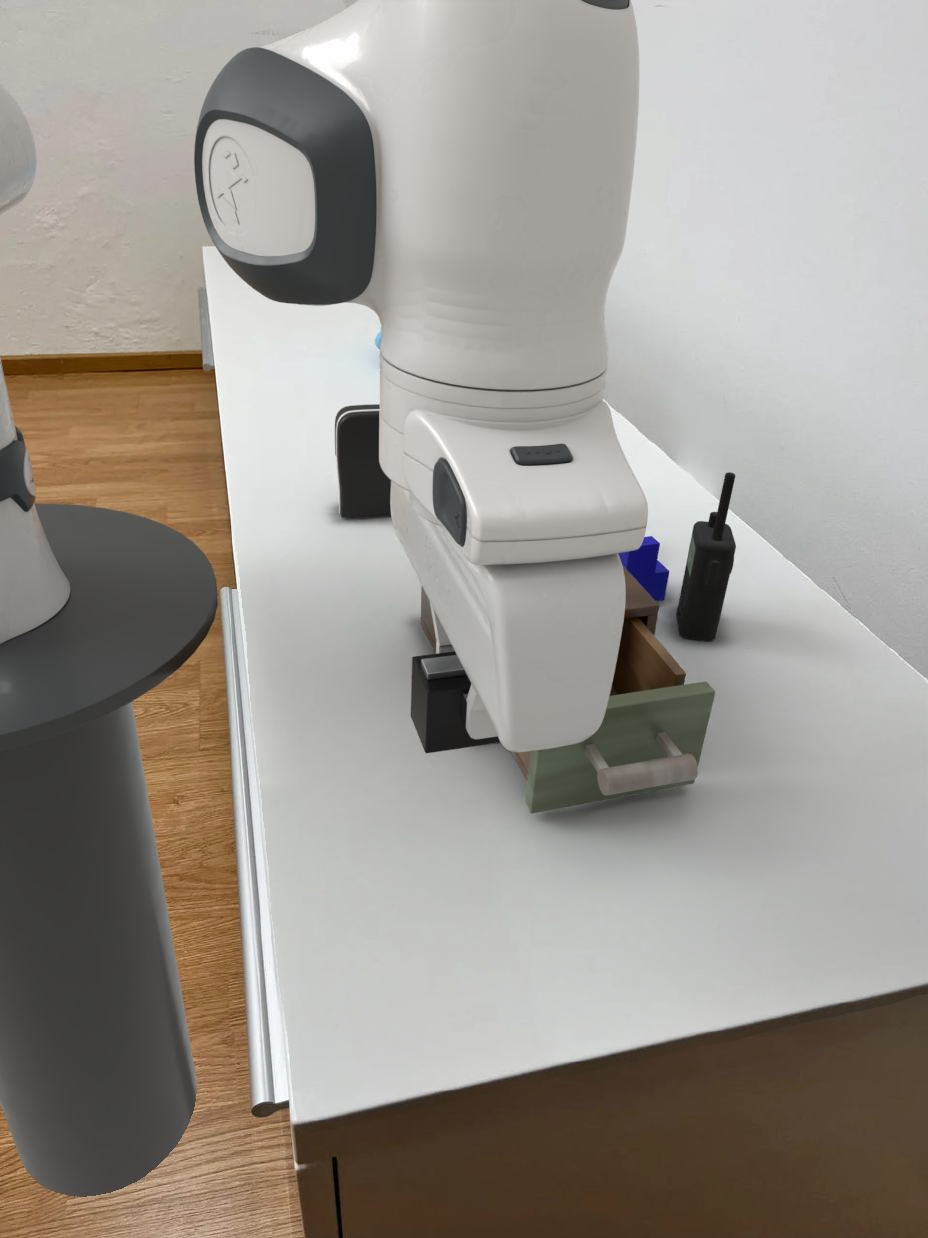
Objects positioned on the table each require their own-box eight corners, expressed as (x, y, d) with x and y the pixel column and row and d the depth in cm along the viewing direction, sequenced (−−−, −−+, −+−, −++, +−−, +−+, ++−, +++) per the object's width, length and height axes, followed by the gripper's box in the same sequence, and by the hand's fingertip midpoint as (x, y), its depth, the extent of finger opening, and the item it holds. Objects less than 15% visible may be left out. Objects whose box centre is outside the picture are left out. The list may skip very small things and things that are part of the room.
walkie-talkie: (675, 611, 85) (705, 455, 77) (713, 615, 85) (747, 459, 77) (679, 640, 81) (712, 478, 73) (719, 644, 81) (756, 482, 73)
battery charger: (398, 501, 103) (399, 398, 97) (405, 516, 99) (407, 411, 93) (334, 505, 101) (331, 401, 95) (339, 520, 98) (336, 414, 92)
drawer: (725, 824, 61) (750, 729, 57) (553, 859, 58) (567, 760, 54) (603, 662, 76) (616, 577, 72) (462, 682, 73) (467, 595, 69)
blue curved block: (664, 599, 87) (674, 541, 84) (620, 606, 86) (629, 547, 83) (605, 541, 97) (613, 487, 94) (565, 546, 95) (572, 491, 92)
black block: (425, 754, 44) (428, 685, 42) (410, 716, 47) (412, 648, 45) (525, 739, 46) (532, 671, 44) (505, 702, 48) (511, 637, 46)
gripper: (361, 353, 46) (361, 598, 53) (490, 547, 29) (465, 865, 36) (485, 349, 47) (469, 588, 55) (674, 531, 31) (615, 838, 38)
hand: (468, 701), depth 45 cm, fingers closed on black block, 3 cm apart
